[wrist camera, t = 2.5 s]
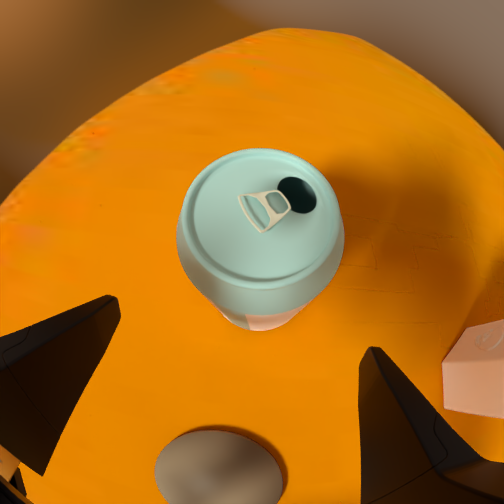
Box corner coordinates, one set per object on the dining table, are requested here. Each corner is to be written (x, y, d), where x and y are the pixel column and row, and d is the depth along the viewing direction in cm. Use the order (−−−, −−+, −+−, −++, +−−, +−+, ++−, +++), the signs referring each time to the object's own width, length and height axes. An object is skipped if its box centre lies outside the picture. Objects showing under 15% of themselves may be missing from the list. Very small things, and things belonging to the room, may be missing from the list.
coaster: (303, 455, 16) (305, 458, 15) (250, 534, 13) (250, 538, 12) (182, 408, 18) (180, 409, 17) (142, 491, 14) (140, 494, 14)
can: (236, 229, 22) (218, 119, 11) (317, 261, 21) (373, 171, 10) (197, 307, 20) (129, 256, 9) (283, 345, 19) (321, 342, 8)
